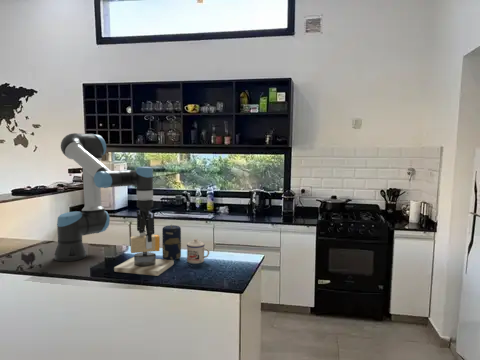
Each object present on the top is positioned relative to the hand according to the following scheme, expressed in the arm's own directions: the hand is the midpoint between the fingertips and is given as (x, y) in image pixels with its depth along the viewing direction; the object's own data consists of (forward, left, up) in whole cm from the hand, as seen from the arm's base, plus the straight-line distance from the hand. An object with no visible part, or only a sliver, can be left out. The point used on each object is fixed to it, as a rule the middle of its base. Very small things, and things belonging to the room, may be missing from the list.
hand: (145, 247), depth 182 cm
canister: (+6, +18, -10) cm, 21 cm away
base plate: (0, 0, -10) cm, 10 cm away
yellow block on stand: (0, 0, -8) cm, 8 cm away
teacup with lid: (+21, +17, -10) cm, 29 cm away
